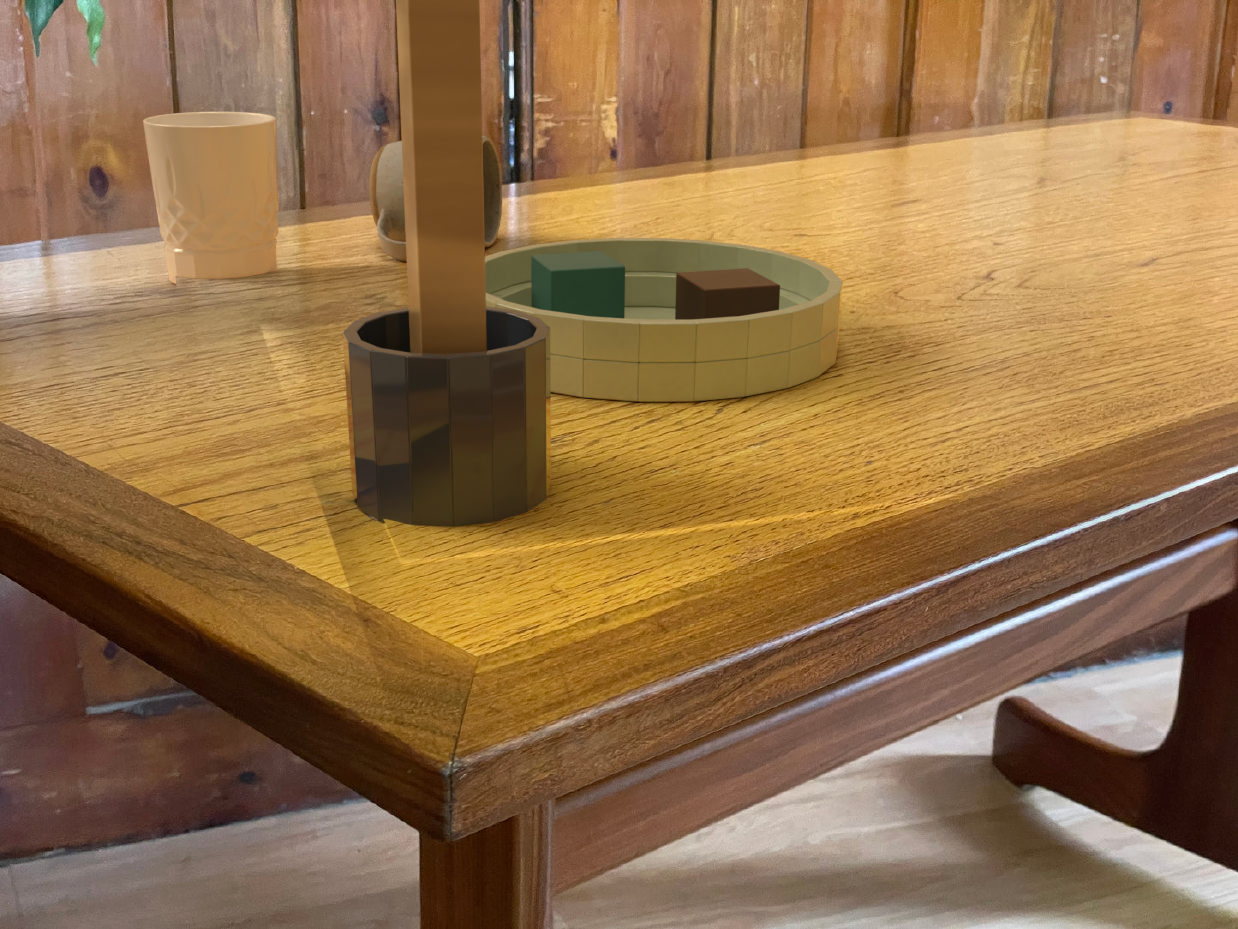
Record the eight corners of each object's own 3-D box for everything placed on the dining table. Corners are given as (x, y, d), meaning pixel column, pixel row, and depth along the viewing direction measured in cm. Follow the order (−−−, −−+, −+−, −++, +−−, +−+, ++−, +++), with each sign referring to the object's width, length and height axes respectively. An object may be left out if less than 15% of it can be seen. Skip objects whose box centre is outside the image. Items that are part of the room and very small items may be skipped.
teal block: (531, 327, 75) (530, 254, 73) (601, 322, 76) (602, 250, 74) (551, 346, 71) (551, 270, 70) (624, 341, 72) (625, 266, 71)
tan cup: (132, 283, 86) (114, 120, 83) (218, 260, 93) (204, 108, 90) (230, 298, 83) (216, 129, 80) (312, 273, 90) (302, 116, 86)
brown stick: (415, 484, 53) (392, -71, 46) (476, 477, 54) (462, -70, 47) (427, 506, 51) (405, -72, 44) (490, 499, 52) (478, -70, 45)
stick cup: (342, 482, 55) (331, 311, 52) (522, 464, 57) (520, 299, 55) (371, 556, 48) (360, 364, 46) (573, 532, 51) (573, 348, 48)
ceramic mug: (399, 230, 103) (393, 126, 100) (505, 235, 102) (502, 129, 99) (352, 262, 94) (344, 148, 91) (468, 268, 92) (465, 152, 90)
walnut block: (673, 348, 71) (675, 272, 70) (744, 342, 72) (748, 267, 71) (702, 369, 68) (705, 289, 66) (776, 363, 69) (781, 284, 67)
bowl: (429, 326, 78) (426, 247, 76) (745, 304, 84) (749, 230, 82) (514, 435, 60) (513, 336, 59) (905, 398, 66) (913, 307, 65)
